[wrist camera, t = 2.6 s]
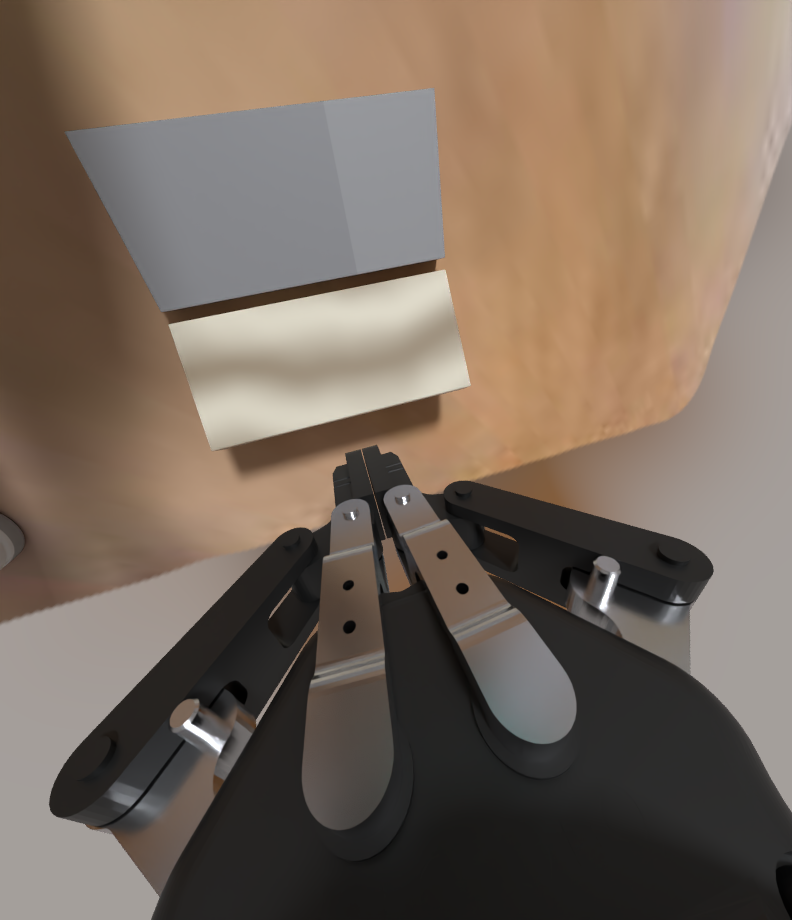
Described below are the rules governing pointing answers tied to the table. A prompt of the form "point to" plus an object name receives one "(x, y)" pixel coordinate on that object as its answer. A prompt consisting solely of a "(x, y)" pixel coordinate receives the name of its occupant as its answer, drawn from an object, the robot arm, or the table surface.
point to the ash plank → (321, 358)
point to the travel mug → (9, 540)
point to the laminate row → (271, 194)
